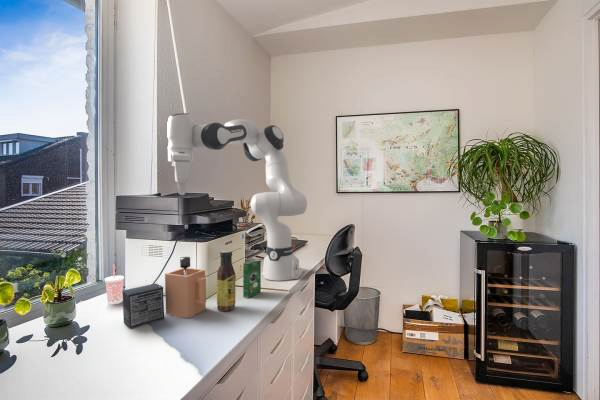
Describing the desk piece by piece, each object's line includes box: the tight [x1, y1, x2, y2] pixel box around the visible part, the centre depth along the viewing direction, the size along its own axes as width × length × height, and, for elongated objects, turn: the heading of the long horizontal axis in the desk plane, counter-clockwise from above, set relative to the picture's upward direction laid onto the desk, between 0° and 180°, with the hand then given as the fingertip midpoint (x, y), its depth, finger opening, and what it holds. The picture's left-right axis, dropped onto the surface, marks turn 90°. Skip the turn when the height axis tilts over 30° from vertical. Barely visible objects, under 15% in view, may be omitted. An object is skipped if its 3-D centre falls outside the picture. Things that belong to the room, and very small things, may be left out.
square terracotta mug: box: [164, 267, 207, 319], centre depth 111 cm, size 9×12×14 cm
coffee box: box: [242, 259, 262, 299], centre depth 128 cm, size 8×3×13 cm, turn 151°
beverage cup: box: [104, 263, 125, 305], centre depth 120 cm, size 6×6×14 cm
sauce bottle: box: [216, 250, 236, 312], centre depth 114 cm, size 7×6×20 cm
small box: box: [122, 282, 165, 329], centre depth 104 cm, size 11×6×10 cm, turn 134°
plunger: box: [179, 256, 191, 276], centre depth 111 cm, size 7×7×17 cm
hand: (181, 194), depth 124 cm, fingers open, 8 cm apart
